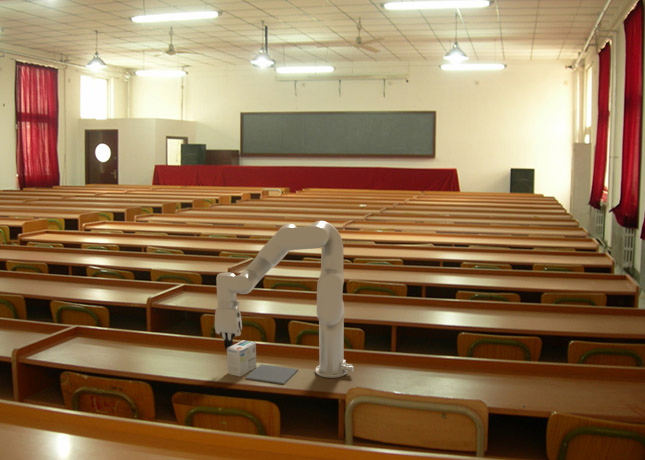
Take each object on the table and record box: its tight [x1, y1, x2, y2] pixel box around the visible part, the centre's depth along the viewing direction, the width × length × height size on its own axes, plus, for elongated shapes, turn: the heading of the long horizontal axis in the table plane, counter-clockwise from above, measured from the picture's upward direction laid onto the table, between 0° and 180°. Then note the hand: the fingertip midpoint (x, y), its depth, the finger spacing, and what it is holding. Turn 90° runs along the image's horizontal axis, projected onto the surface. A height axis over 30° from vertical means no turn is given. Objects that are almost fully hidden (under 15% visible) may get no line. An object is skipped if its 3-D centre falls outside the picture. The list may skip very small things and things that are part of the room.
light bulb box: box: [226, 339, 257, 377], centre depth 245 cm, size 11×7×11 cm, turn 149°
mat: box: [245, 363, 299, 385], centre depth 242 cm, size 16×14×1 cm
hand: (228, 348), depth 247 cm, fingers closed
